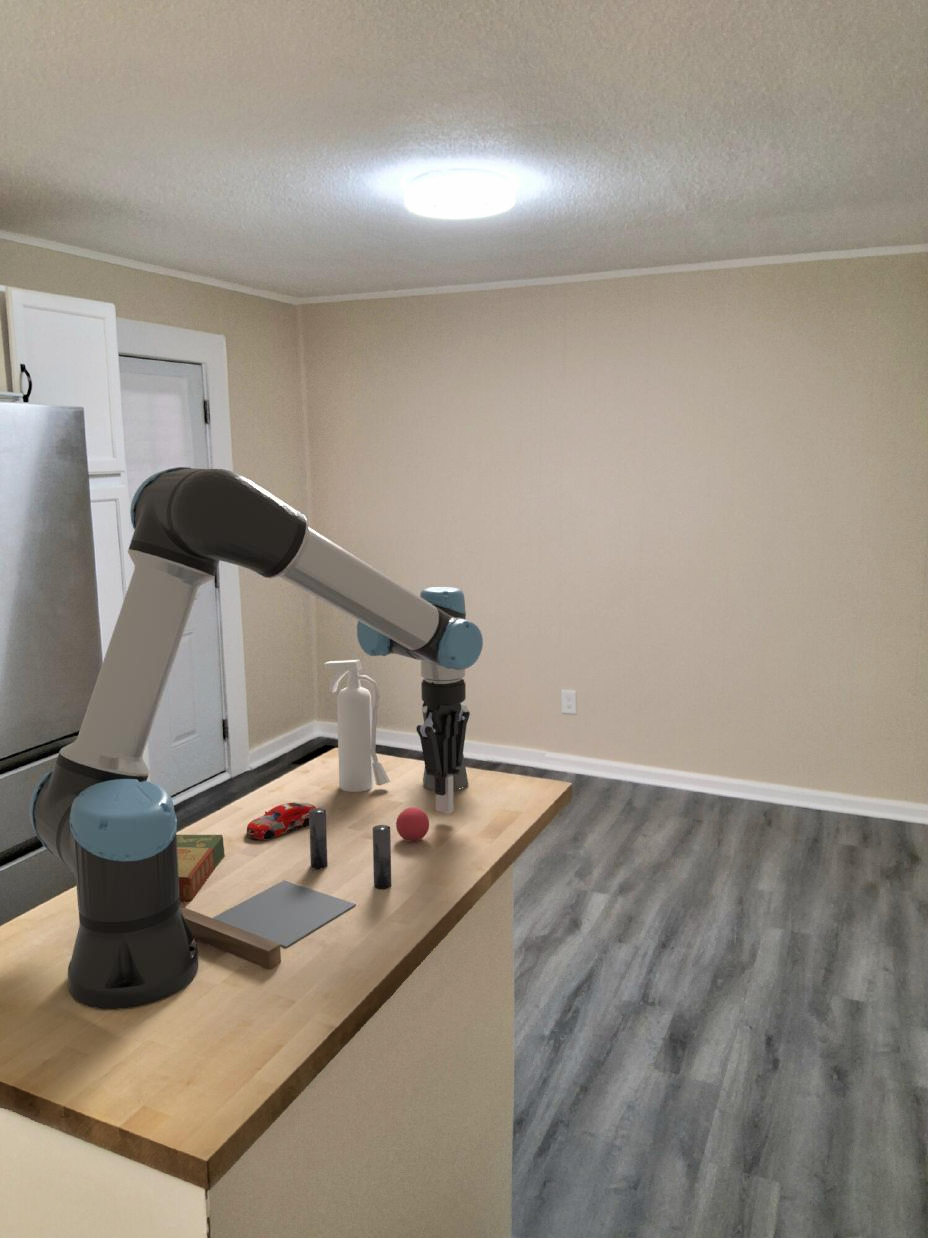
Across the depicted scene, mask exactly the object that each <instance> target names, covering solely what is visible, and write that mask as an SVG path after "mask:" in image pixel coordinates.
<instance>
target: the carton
mask: <svg viewBox="0 0 928 1238" xmlns="http://www.w3.org/2000/svg"><path fill="white" fill-rule="evenodd" d="M176 835H177V854H178V874H179V895H180V901H181V902H183V903H184V902H186V903H190V902H192V901H193V900H194V899H195V897H196V896H197V895H198V893H199V892H200V890H202V888H203V887H204V886H205V884H206V882H207V881H208V880H209V879H210V877H211V876H212V874H213V873H214V871H216V869H217V867H218V866H219V865H220V863H221V862H222V861H223V859H224V858H225V857H226V855H225V846H224V836H223V835H222V834H176ZM221 860H222V861H221ZM207 879H208V880H207ZM181 902H180V903H181Z"/></svg>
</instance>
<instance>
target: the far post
mask: <svg viewBox="0 0 928 1238" xmlns="http://www.w3.org/2000/svg"><path fill="white" fill-rule="evenodd" d="M308 827H309V852H310V855H309V856H310V857H309V858H310V868H311V869H313V870H324V869H326V868H327V867H328V866H329V865H328V864H329V862H328V840H327V839H328V837H327V836H328V835H327V834H328V832H327V811H326V809H325V808H323V807H316V808H314V809H311V810H309V826H308Z"/></svg>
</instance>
